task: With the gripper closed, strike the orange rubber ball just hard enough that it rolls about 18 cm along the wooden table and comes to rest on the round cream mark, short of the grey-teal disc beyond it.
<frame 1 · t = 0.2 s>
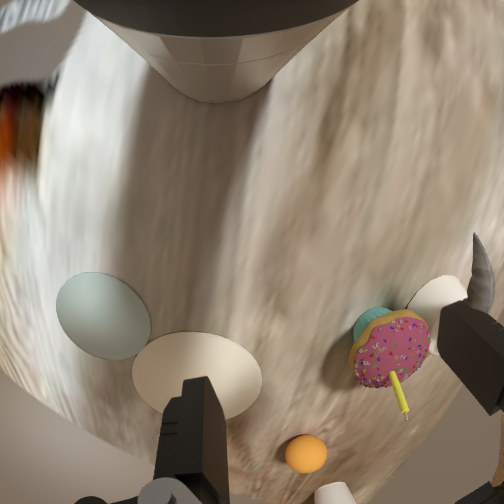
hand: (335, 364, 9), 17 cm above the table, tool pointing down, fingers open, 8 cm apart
cupcake: (372, 323, 31), on the table
inkwell: (428, 280, 30), on the table
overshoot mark: (101, 319, 27), on the table
ball: (306, 454, 35), on the table
foam cup: (329, 488, 46), on the table
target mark: (196, 383, 31), on the table
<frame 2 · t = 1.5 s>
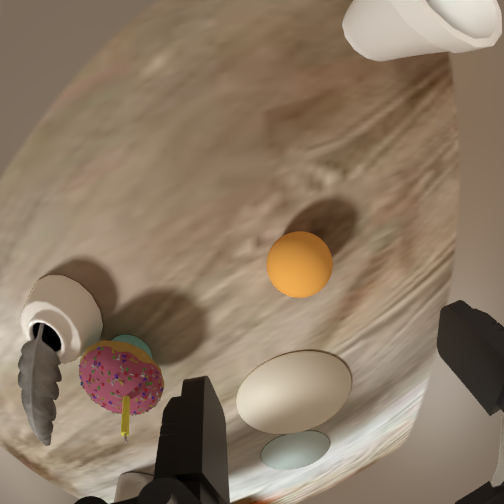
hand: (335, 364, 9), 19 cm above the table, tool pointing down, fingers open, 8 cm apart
cupcake: (130, 352, 31), on the table
inkwell: (67, 346, 30), on the table
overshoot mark: (295, 451, 38), on the table
ball: (299, 264, 26), on the table
foam cup: (371, 33, 23), on the table
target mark: (295, 397, 35), on the table
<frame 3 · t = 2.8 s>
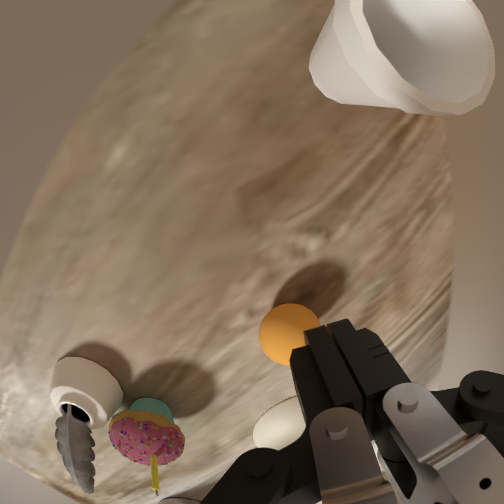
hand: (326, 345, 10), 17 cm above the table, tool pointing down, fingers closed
cupcake: (151, 409, 33), on the table
inkwell: (95, 408, 32), on the table
ball: (290, 334, 27), on the table
foam cup: (343, 69, 23), on the table
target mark: (307, 428, 36), on the table
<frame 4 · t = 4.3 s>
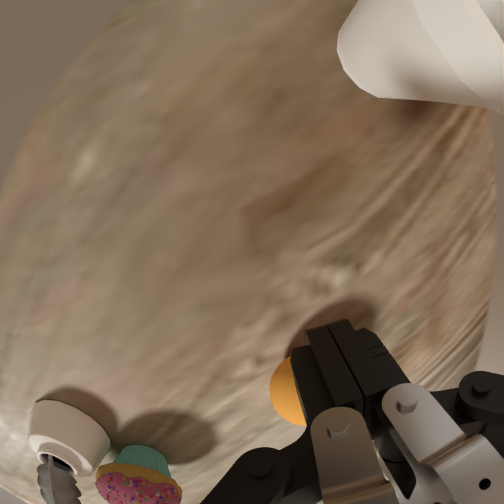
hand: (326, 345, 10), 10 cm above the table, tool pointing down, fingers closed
cupcake: (144, 455, 26), on the table
inkwell: (81, 450, 26), on the table
ball: (308, 388, 21), on the table
foam cup: (379, 55, 17), on the table
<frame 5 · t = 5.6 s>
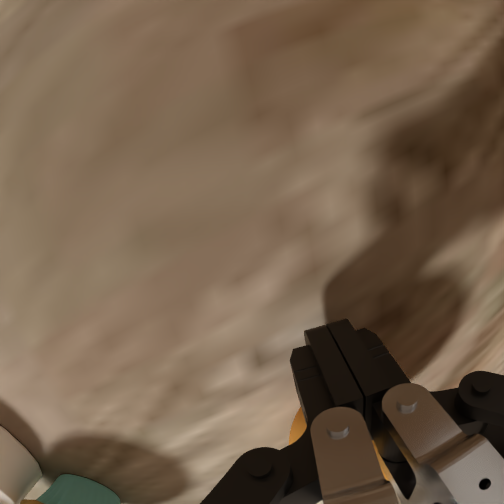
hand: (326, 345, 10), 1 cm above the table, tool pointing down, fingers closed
cupcake: (89, 488, 15), on the table
inkwell: (13, 470, 15), on the table
ball: (359, 438, 10), on the table
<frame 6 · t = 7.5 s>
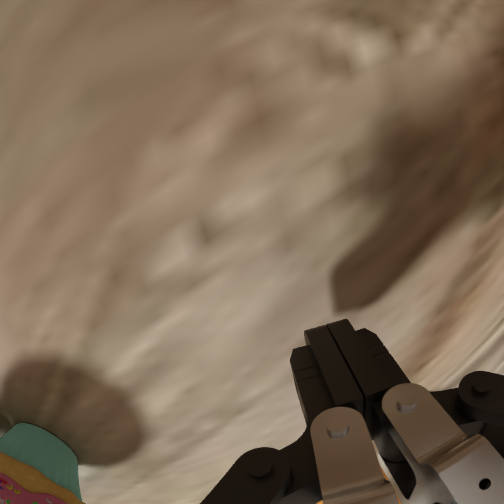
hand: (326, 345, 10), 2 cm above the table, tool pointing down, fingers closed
cupcake: (46, 445, 14), on the table
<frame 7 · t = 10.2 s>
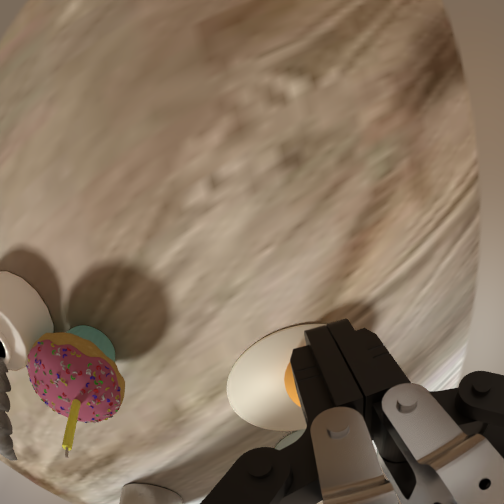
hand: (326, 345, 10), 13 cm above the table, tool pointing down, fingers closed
cupcake: (91, 347, 25), on the table
inkwell: (26, 350, 24), on the table
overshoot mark: (314, 448, 32), on the table
ball: (317, 378, 24), on the table
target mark: (302, 385, 28), on the table
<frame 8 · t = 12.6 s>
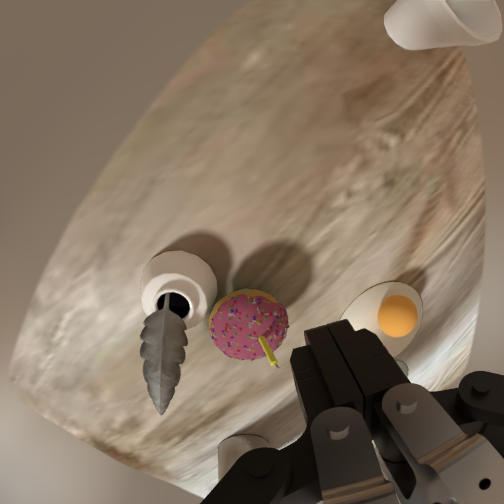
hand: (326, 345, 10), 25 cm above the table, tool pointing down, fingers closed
cupcake: (245, 306, 38), on the table
inkwell: (176, 317, 38), on the table
ball: (397, 316, 37), on the table
foam cup: (404, 28, 28), on the table
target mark: (381, 327, 41), on the table
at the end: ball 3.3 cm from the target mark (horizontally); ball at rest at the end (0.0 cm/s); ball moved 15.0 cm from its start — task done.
